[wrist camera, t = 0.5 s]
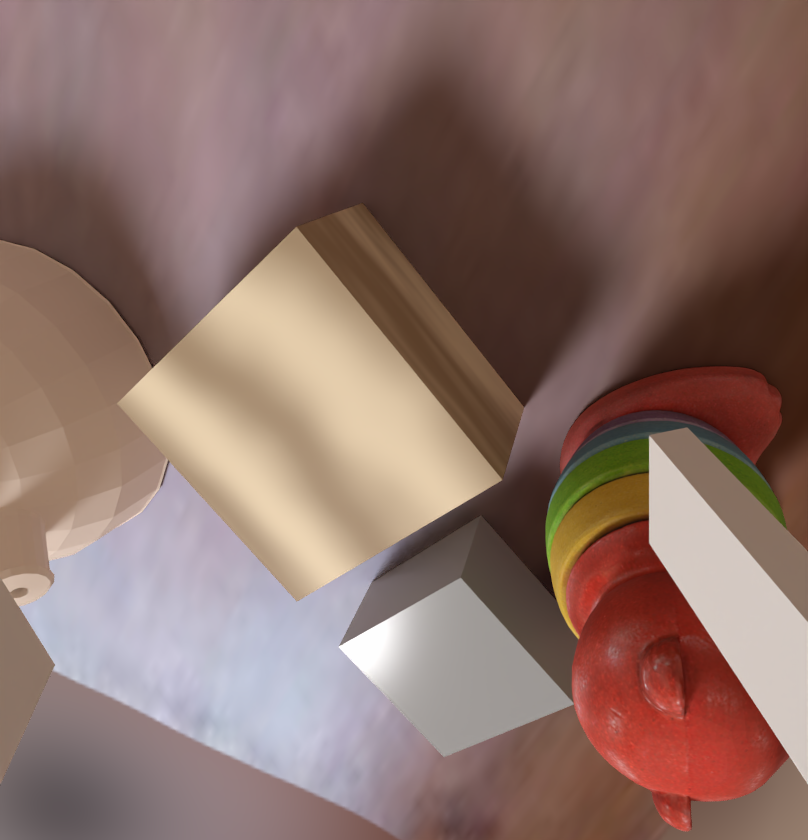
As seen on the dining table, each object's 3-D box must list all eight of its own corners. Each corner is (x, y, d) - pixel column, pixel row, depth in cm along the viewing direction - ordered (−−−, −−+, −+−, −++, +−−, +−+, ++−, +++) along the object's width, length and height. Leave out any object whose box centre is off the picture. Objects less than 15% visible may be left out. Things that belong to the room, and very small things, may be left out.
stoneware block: (481, 513, 38) (460, 577, 33) (579, 624, 39) (574, 704, 34) (372, 580, 42) (338, 646, 37) (464, 679, 43) (444, 757, 38)
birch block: (364, 202, 33) (296, 226, 26) (524, 405, 35) (502, 480, 28) (206, 351, 39) (116, 403, 32) (351, 517, 41) (296, 601, 34)
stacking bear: (758, 563, 34) (878, 936, 19) (556, 547, 37) (516, 859, 22) (786, 364, 30) (971, 633, 15) (556, 363, 33) (506, 587, 18)
